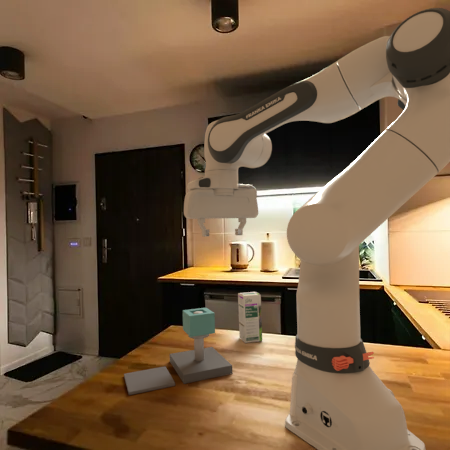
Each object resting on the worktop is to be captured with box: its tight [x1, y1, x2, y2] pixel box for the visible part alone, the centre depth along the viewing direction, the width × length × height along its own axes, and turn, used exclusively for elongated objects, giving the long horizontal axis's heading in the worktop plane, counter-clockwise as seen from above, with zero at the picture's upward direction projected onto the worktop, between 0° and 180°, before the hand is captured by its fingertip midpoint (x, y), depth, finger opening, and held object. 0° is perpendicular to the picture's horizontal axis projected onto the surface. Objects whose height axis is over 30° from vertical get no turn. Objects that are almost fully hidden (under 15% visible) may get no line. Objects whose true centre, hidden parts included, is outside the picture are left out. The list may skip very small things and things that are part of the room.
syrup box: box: [237, 291, 263, 344], centre depth 103 cm, size 6×6×14 cm
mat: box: [123, 365, 176, 396], centre depth 77 cm, size 10×10×1 cm
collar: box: [182, 307, 216, 338], centre depth 84 cm, size 6×6×5 cm
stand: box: [169, 311, 233, 385], centre depth 83 cm, size 14×12×14 cm
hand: (222, 235), depth 87 cm, fingers open, 8 cm apart
